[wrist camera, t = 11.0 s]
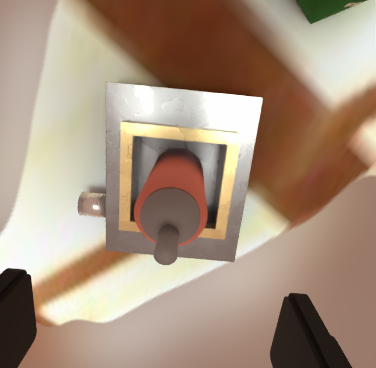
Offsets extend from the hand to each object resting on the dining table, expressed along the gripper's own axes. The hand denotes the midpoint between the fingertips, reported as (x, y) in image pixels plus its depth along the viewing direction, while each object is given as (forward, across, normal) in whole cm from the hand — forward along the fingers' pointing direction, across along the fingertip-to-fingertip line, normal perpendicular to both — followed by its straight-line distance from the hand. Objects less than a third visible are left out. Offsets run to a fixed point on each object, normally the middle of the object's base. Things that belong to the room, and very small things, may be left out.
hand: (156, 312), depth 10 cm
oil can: (+19, 0, 0) cm, 19 cm away
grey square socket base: (+20, +1, 0) cm, 20 cm away
